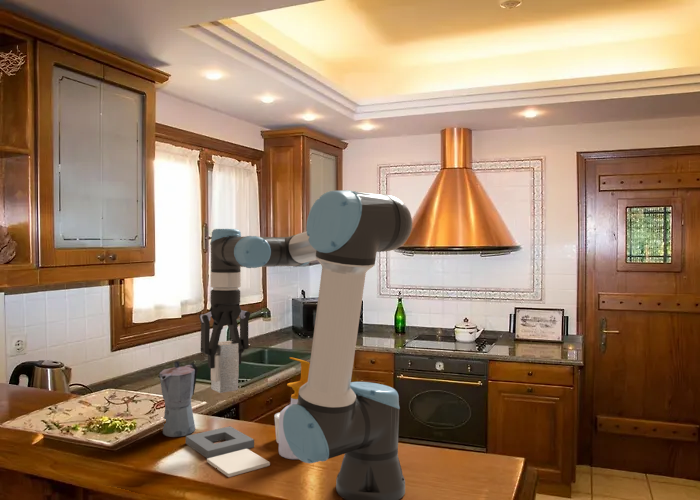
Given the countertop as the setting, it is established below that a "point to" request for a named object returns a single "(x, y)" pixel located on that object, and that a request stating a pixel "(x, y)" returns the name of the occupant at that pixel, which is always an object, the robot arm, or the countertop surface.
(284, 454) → the soap bottle
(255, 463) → the pad
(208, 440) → the socket frame
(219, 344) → the steel peg
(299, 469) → the countertop surface
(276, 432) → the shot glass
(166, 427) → the moka pot
